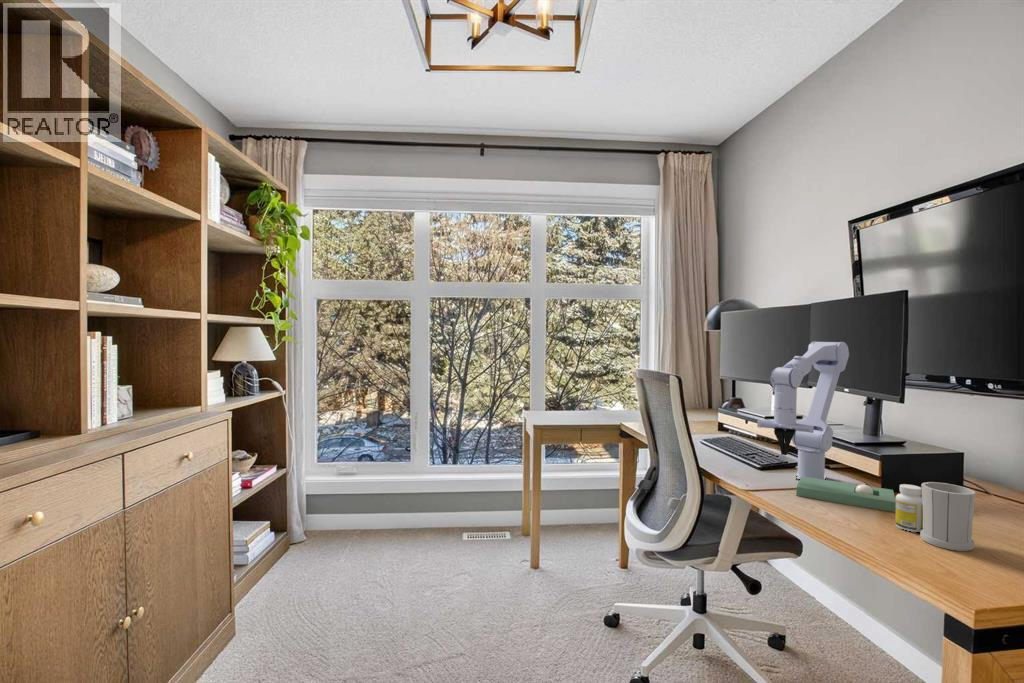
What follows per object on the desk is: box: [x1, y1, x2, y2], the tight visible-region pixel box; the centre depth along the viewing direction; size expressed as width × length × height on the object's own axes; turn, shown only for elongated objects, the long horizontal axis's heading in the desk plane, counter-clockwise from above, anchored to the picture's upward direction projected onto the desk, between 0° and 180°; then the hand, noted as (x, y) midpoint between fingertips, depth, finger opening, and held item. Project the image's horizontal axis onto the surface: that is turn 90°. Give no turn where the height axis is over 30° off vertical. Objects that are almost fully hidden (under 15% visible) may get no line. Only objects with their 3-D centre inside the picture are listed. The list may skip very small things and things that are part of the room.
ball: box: [855, 483, 873, 495], centre depth 137 cm, size 4×4×4 cm
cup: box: [919, 481, 977, 552], centre depth 109 cm, size 10×9×12 cm
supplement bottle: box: [895, 483, 923, 533], centre depth 117 cm, size 5×5×10 cm
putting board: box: [795, 476, 896, 513], centre depth 139 cm, size 13×22×2 cm, turn 56°
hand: (784, 454), depth 149 cm, fingers closed
